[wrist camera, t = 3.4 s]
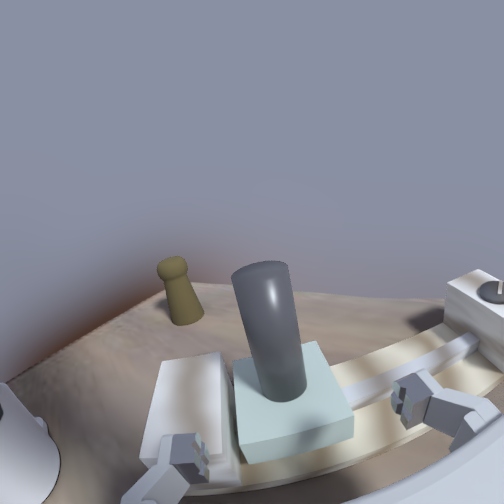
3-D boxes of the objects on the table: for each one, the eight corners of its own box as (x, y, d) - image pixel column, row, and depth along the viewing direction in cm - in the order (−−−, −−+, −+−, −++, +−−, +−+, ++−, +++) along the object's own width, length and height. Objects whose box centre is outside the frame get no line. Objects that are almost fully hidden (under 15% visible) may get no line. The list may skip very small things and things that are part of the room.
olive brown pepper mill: (186, 306, 53) (169, 252, 50) (210, 309, 50) (193, 251, 47) (165, 323, 49) (145, 266, 45) (189, 327, 45) (169, 265, 42)
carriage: (253, 472, 17) (189, 326, 13) (243, 393, 27) (202, 261, 23) (352, 446, 17) (351, 286, 13) (319, 374, 27) (300, 238, 23)
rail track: (176, 496, 16) (134, 453, 14) (184, 406, 28) (159, 356, 26) (530, 357, 18) (547, 300, 16) (472, 314, 29) (478, 264, 27)
